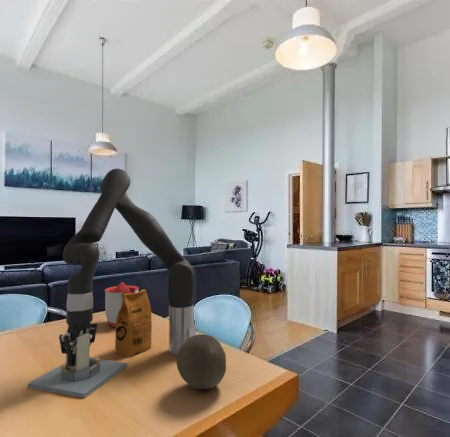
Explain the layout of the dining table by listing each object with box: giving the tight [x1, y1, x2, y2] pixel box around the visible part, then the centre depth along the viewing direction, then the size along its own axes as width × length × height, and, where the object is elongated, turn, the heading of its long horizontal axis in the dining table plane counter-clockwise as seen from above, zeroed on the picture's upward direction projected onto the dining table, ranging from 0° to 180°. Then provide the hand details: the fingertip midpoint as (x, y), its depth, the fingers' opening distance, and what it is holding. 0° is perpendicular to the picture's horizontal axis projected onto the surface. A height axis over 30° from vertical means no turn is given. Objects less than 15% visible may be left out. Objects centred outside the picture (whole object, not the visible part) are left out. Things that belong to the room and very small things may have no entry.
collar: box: [60, 356, 101, 382], centre depth 99 cm, size 11×11×3 cm
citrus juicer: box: [104, 281, 140, 328], centre depth 150 cm, size 16×17×20 cm
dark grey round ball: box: [175, 334, 227, 390], centre depth 92 cm, size 14×14×15 cm
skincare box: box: [65, 333, 91, 371], centre depth 98 cm, size 6×4×12 cm
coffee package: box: [114, 289, 153, 357], centre depth 120 cm, size 10×12×22 cm
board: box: [27, 358, 128, 399], centre depth 99 cm, size 20×20×1 cm
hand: (78, 361), depth 98 cm, fingers closed on skincare box, 5 cm apart
